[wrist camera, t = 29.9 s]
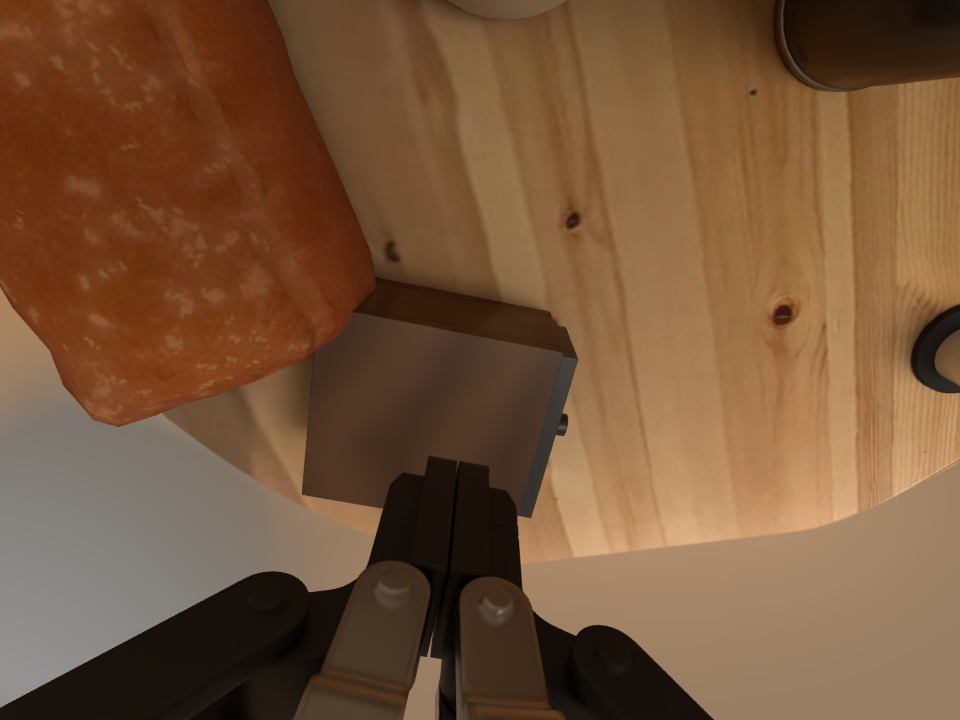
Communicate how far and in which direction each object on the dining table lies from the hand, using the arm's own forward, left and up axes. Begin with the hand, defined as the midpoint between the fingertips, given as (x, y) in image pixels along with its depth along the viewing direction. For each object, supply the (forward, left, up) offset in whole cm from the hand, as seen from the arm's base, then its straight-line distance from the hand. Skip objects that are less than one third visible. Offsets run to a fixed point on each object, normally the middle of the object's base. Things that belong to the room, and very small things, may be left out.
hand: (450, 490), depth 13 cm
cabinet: (+6, +8, -27) cm, 29 cm away
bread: (+15, -11, -27) cm, 33 cm away
